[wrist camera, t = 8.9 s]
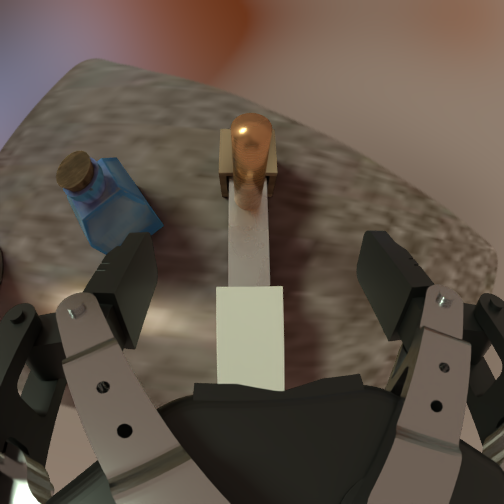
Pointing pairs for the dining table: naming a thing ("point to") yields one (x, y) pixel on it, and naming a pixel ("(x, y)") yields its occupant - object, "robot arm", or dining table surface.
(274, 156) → the socket block
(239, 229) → the grey bar with post
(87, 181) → the perfume bottle
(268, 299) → the pale white block
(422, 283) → the robot arm
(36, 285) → the dining table surface
